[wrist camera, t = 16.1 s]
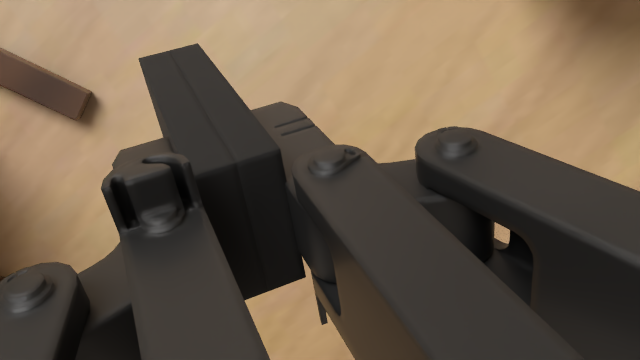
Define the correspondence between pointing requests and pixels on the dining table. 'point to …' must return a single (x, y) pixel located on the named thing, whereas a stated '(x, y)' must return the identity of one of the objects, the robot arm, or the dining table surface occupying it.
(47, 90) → the walnut frame
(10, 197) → the dining table surface
